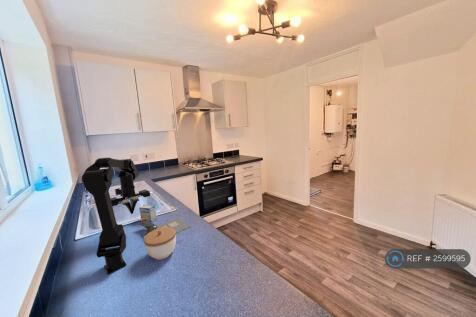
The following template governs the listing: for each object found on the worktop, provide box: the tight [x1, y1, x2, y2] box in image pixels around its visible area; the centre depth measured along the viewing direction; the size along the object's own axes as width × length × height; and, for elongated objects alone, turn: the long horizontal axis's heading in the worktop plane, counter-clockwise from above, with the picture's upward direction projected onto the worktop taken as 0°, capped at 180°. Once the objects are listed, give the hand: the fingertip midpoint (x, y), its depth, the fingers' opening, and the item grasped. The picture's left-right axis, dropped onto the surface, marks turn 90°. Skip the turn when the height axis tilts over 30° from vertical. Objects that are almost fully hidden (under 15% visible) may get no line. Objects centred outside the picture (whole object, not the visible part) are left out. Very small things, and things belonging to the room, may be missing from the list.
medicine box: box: [138, 204, 157, 223], centre depth 115 cm, size 8×4×9 cm, turn 73°
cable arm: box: [140, 217, 158, 232], centre depth 101 cm, size 3×14×4 cm, turn 48°
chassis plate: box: [143, 216, 192, 236], centre depth 103 cm, size 15×19×2 cm
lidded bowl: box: [143, 227, 177, 261], centre depth 82 cm, size 13×13×11 cm
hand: (131, 213), depth 99 cm, fingers closed
